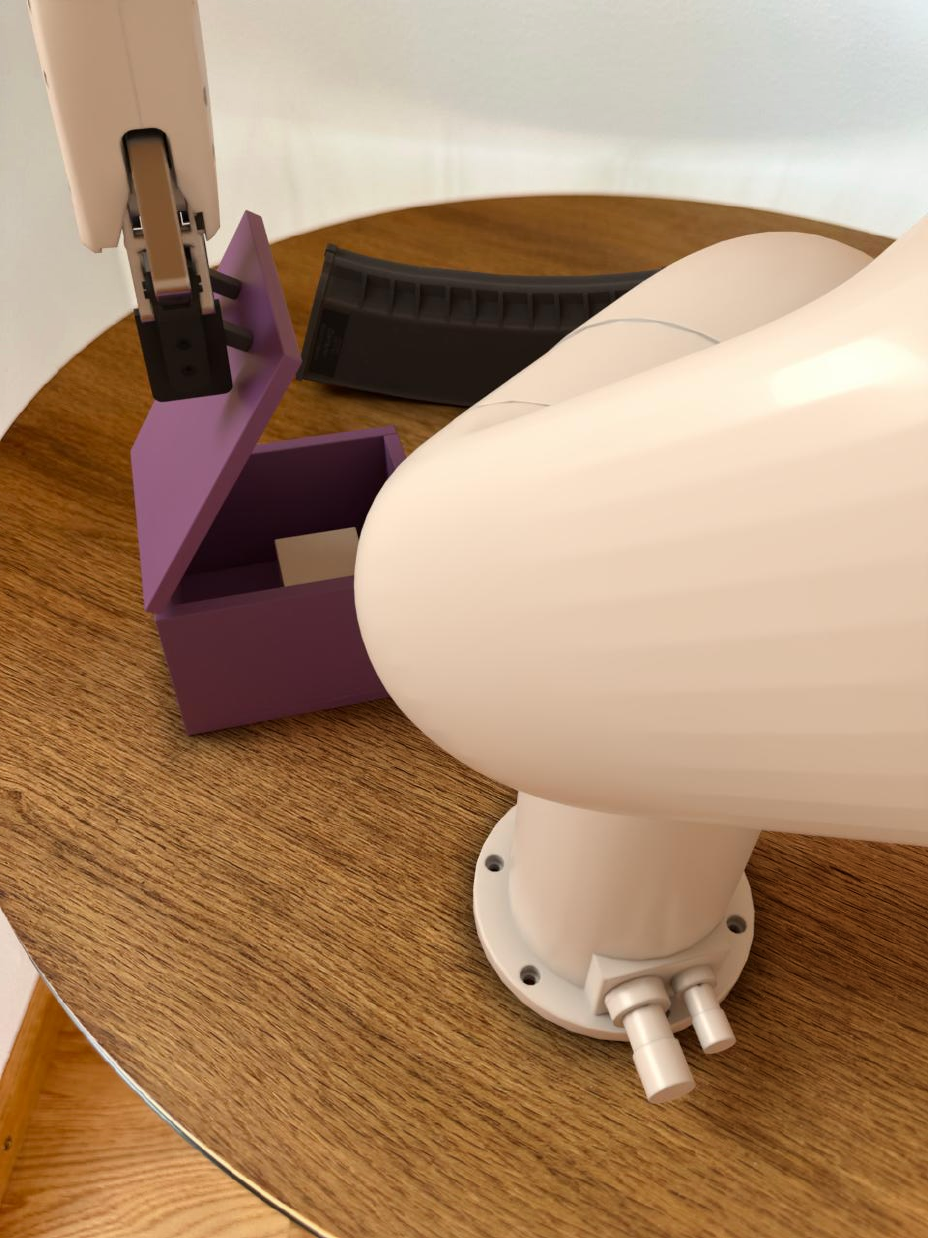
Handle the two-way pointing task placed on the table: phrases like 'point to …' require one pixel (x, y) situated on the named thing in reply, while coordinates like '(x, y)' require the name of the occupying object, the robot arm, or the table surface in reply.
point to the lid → (212, 417)
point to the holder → (276, 589)
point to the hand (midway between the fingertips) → (185, 349)
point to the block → (317, 556)
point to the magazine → (441, 325)
